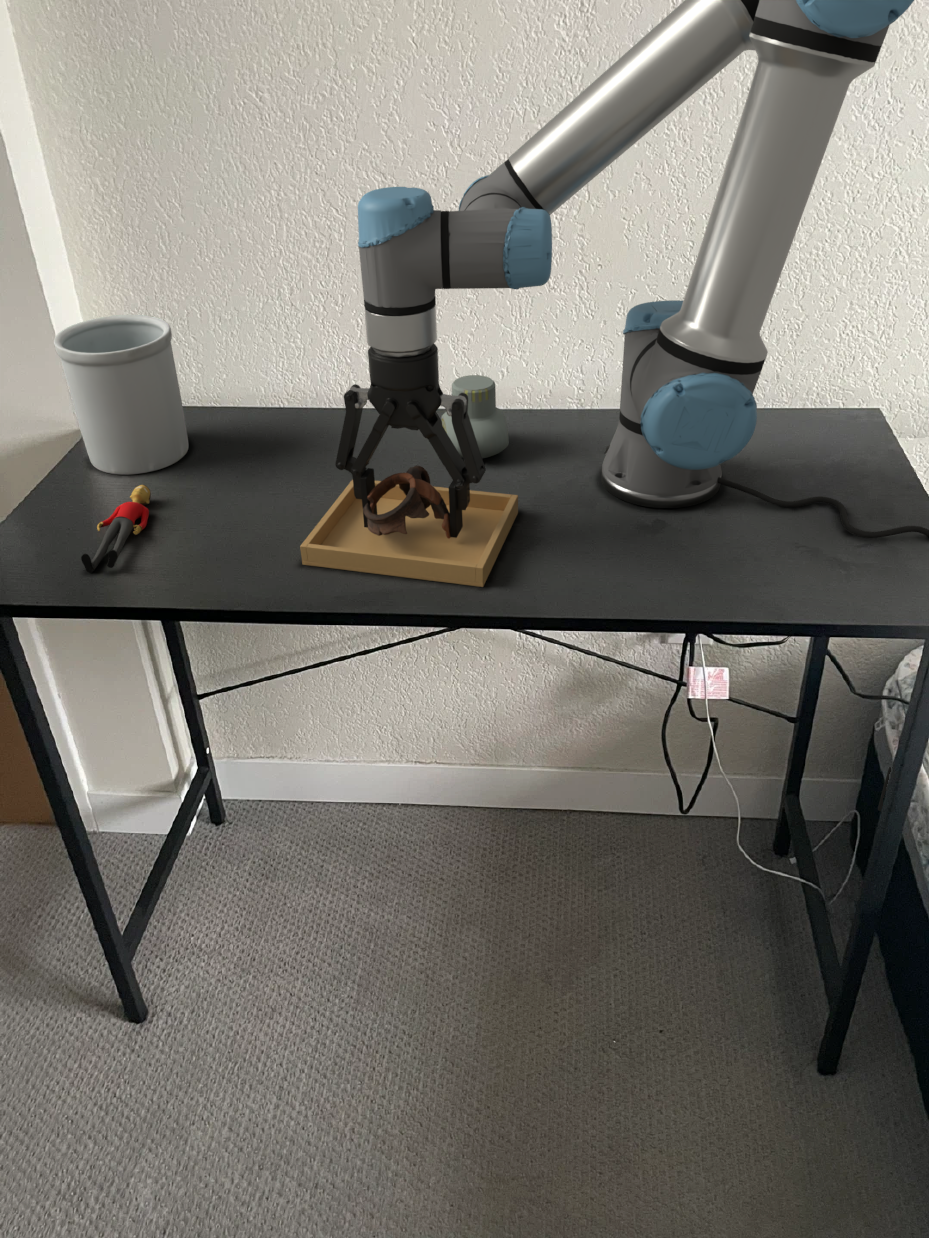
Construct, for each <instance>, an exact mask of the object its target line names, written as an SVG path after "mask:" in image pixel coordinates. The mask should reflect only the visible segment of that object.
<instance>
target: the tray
mask: <svg viewBox="0 0 929 1238" xmlns="http://www.w3.org/2000/svg"><path fill="white" fill-rule="evenodd" d="M381 481H382V480H375V486H376V485H377V484H378V483H380V482H381ZM433 487H434V488H435V489H436V490H437V492H439V493H440V495H441V497H442V498H443V500H444V502H445V504H446V506H447V509H448V511H449V487H443V486H433ZM405 498H406V495H405V494H404V492H403V491H402V490H401V489H400V488H399V485H396V486H395V487H394V488H392V489H390V490H389V491H388V492H387V493H386V494H384V495H383V496H382V497H381V498H380V500H379V501H378V502H377V515H379V514H384V513H387V512H389V511H391V510H393V509H394V508H396V507H397V506H398V505H399V504H400V503H401V502H402V501H403V500H404V499H405ZM426 510H427V511H428V513H429V516H427V517H426V518H410V517H408V516H406V517H405V522H406V531H407V534H402V533H400V532H394V533H390V534H387V535H383V534H382V535H380V536H378V535H376V534H373V533H372V532H370V531H369V529H368V528H367V527H364V518H363V507H362V499H356V497H355V495H354V486H353V479H351V480H350V482H349V483H348V485H347V486H346V487H345V488H344V490H343V491H342V492H341V493H340V495H339V496H338V497H337V498H336V500H335V501H334V502H333V504H332V505H331V506H330V507H329V509H328V510H327V511H326V512H325V514H323V516H322V518H321V519H320V520H319V521H318V522H317V523H316V525H315V526H314V527H313V529H312V530H311V532H310V533H309V534H308V536H307V537H306V538H305V539H304V541H303V542H302V543H301V545H300V546H299V549H300V555H301V563H302V564H301V565H303V566H309V567H310V566H311V567H320V568H325V569H326V568H328V569H335V570H342V571H344V570H345V571H351V572H352V571H353V572H359V573H367V574H375V575H383V576H392V577H399V578H406V579H414V580H423V581H431V582H432V581H433V582H439V583H448V584H455V585H463V586H469V587H470V586H471V587H479V588H480V587H481V588H483V587H484V586H485V584H486V581H487V580H488V577H489V575H490V574H491V572H492V569H493V567H494V565H495V563H496V561H497V558H498V556H499V554H500V552H501V550H502V548H503V546H504V543H505V542H506V539H507V537H508V535H509V533H510V531H511V529H512V526H513V525H514V522H515V520H516V518H517V516H518V514H519V495H518V494H512V493H511V494H510V493H500V492H492V491H491V492H490V491H482V490H473V489H470V502H469V505H468V507H467V508H466V510H462V519H463V527H462V529H461V531H460V533H459V534H458V536H457V538H454V537H451V538H449V539H448V538H447V536H446V533H445V530H443V528H442V523H443V520H444V519H436V518H435V517H434V512H433V510H432V507H431V505H430V506H429V507H428V508H427V509H426ZM449 513H450V511H449Z"/></svg>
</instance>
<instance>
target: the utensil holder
mask: <svg viewBox="0 0 929 1238" xmlns="http://www.w3.org/2000/svg"><path fill="white" fill-rule="evenodd" d="M172 338H173V334H172V329H171V325H170V324H169V323H168V321H166V320H164V319H162V318H159V317H157V316H152V315H144V314H118V315H107V316H102V317H96V318H92V319H87V320H83V321H80V322H77V323H75V324H72V325H69V326H68V327H65V328H64V329H62V330H60V331H59V332H58V333H57V334H56V335H55V336H54V338H53V346H54V350H55V352H56V355H57V356H58V357H59V359H60V365H61V367H62V371H63V375H64V378H65V381H66V386H67V388H68V391H69V392H68V393H69V395H70V398H71V403H72V406H73V409H74V413H75V416H76V421H77V423H78V428H79V430H80V433H81V437H82V440H83V443H84V446H85V450H86V452H87V456H88V458H89V461H90V463H91V465H92V466H93V467H94V468H95V469H97V470H99V471H100V472H104V473H107V474H111V475H123V476H124V475H125V476H127V475H129V476H130V475H138V474H139V475H140V474H146V473H150V472H155V471H158V470H161V469H164V468H167V467H169V466H170V467H171V466H172V465H173V464H176V463H177V462H178V461H180V460H181V459H183V458H184V457H185V455H186V454H187V453H188V450H189V438H188V437H189V436H188V430H187V423H186V418H185V412H184V405H183V400H182V395H181V390H180V386H179V385H180V384H179V378H178V374H177V373H178V372H177V367H176V363H175V357H174V351H173V346H172Z"/></svg>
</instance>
